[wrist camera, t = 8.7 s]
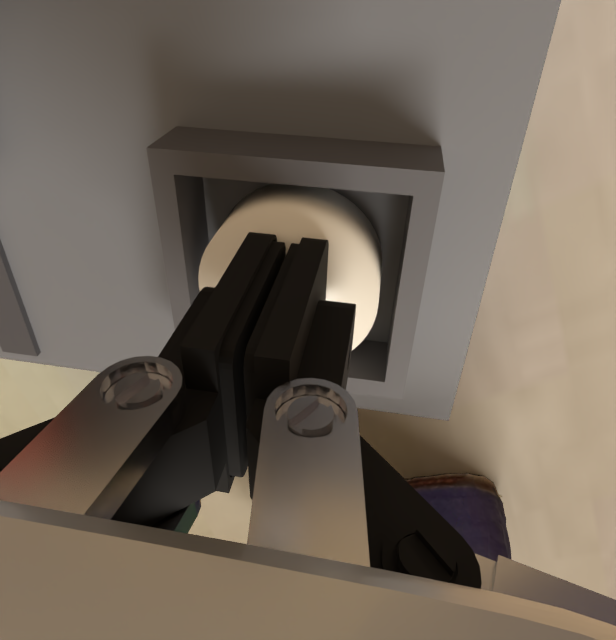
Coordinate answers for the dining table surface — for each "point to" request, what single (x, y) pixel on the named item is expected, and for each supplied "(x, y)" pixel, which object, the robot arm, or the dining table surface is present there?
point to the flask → (469, 510)
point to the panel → (257, 163)
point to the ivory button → (309, 222)
